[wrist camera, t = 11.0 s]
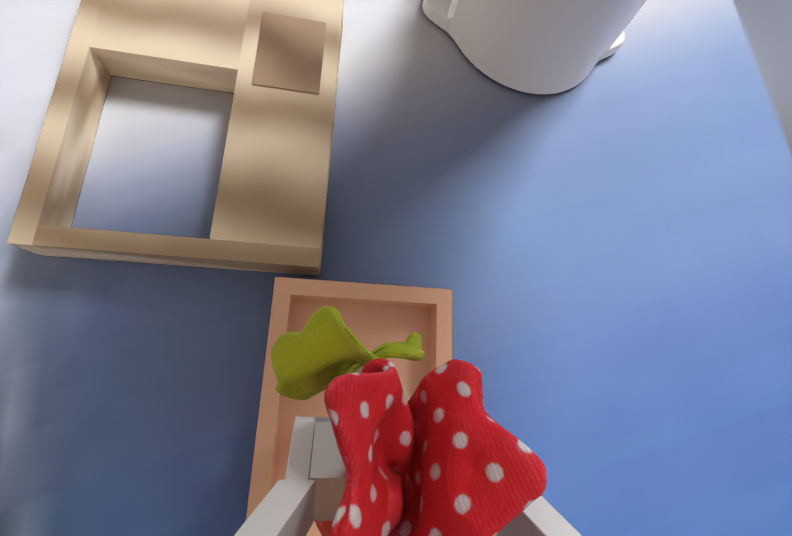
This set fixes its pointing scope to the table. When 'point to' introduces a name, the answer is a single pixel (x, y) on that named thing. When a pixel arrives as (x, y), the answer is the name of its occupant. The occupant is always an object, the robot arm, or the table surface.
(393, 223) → the table surface
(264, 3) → the puzzle board
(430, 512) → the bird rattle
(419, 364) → the terracotta tray
